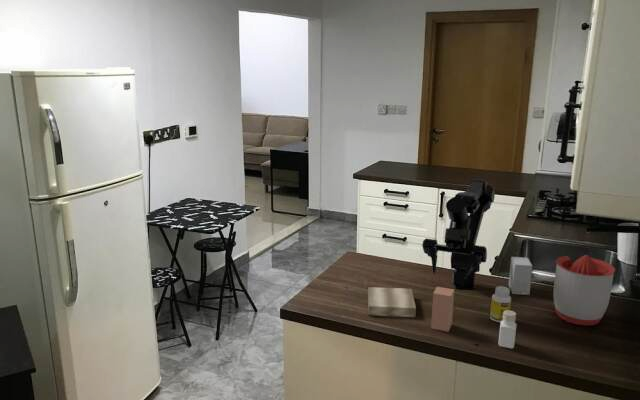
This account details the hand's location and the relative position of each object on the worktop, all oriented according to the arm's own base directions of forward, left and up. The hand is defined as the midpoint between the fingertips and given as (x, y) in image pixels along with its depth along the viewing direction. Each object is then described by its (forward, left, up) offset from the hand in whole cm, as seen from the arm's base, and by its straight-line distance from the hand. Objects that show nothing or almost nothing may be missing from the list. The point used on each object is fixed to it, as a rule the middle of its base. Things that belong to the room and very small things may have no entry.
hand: (449, 275), depth 153 cm
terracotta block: (+3, +7, -13) cm, 15 cm away
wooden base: (+17, -5, -13) cm, 22 cm away
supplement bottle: (-15, +1, -13) cm, 20 cm away
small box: (-27, -21, -13) cm, 37 cm away
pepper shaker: (-13, +16, -13) cm, 25 cm away
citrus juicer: (-39, -3, -13) cm, 42 cm away
